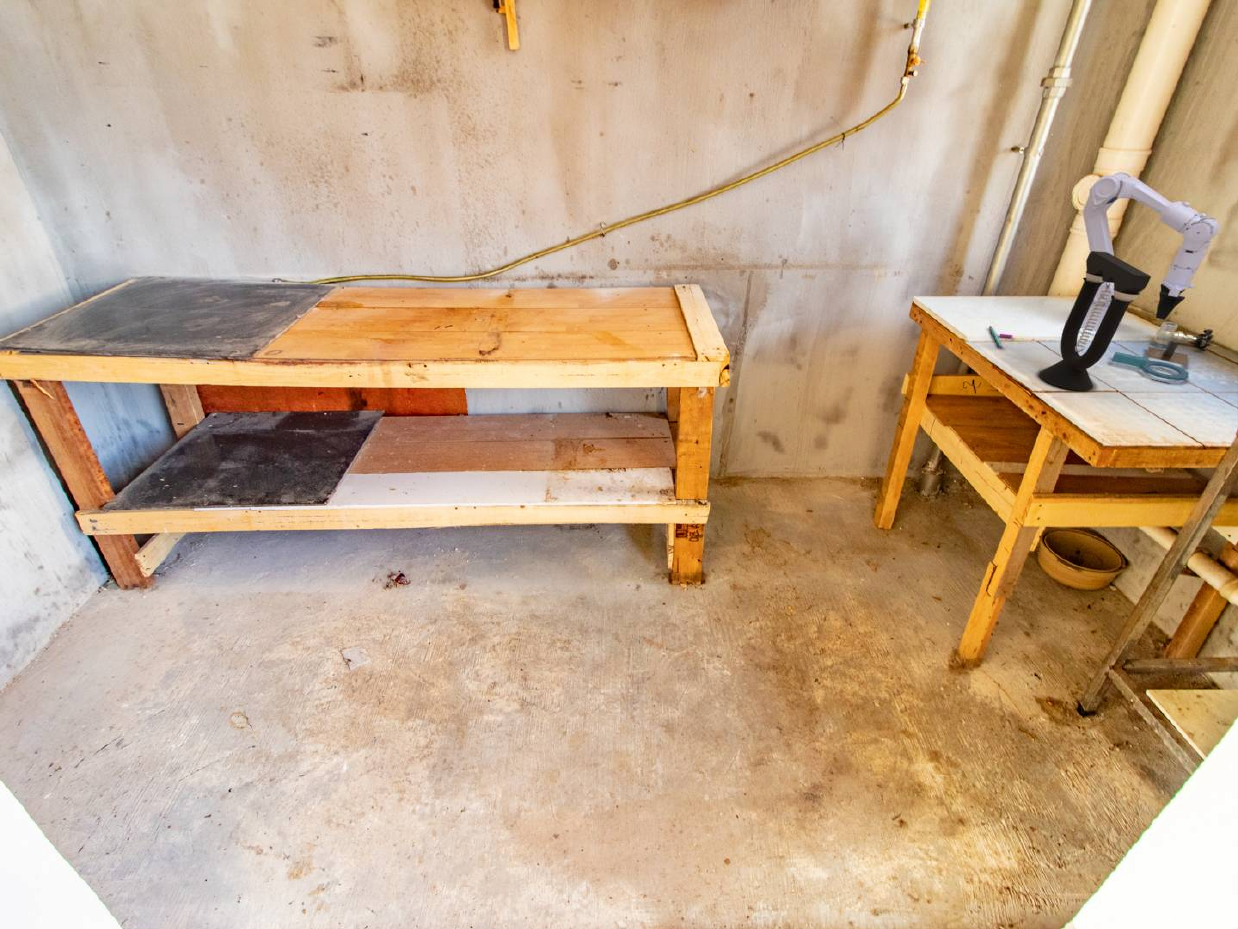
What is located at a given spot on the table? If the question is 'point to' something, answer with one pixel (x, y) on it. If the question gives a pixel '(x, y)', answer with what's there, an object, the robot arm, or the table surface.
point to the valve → (1182, 336)
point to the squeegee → (1000, 336)
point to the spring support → (1126, 289)
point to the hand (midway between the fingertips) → (1160, 314)
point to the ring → (1144, 365)
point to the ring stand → (1168, 353)
